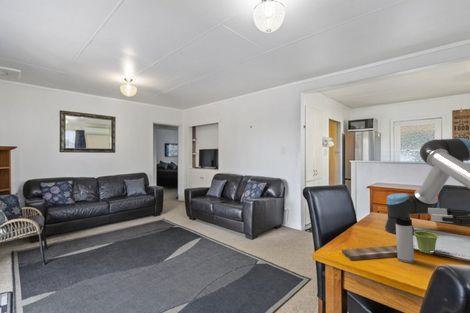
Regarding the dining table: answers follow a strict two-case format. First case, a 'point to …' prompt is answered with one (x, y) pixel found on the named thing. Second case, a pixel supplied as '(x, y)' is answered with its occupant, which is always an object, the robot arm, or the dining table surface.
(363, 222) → the dining table surface
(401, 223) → the travel mug
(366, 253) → the walnut board
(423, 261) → the dining table surface
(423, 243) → the plant pot
